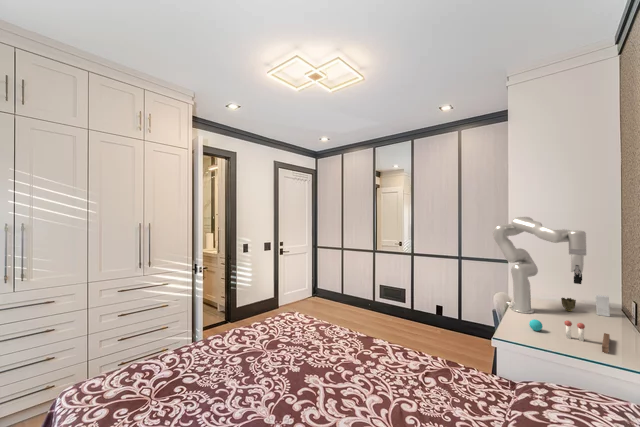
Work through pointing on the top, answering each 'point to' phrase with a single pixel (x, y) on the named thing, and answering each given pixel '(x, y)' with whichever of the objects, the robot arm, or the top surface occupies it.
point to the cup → (568, 304)
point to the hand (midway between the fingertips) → (578, 282)
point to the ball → (535, 325)
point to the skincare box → (602, 305)
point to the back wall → (605, 343)
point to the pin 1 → (568, 328)
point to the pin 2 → (581, 331)
